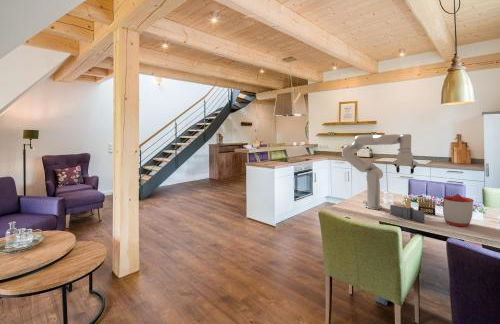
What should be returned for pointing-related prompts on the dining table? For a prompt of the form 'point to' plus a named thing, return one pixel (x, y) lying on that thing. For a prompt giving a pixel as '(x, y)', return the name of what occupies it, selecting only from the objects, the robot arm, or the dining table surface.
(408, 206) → the hinge pin
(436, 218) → the dining table surface
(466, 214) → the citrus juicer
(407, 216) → the hinge
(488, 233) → the dining table surface
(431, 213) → the ammunition clip
